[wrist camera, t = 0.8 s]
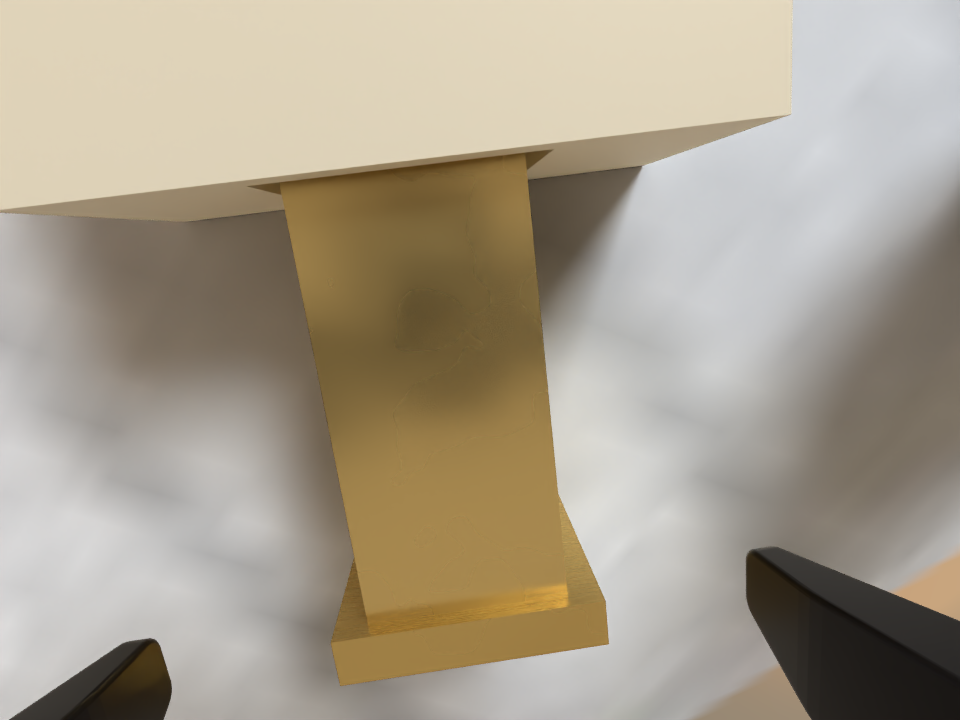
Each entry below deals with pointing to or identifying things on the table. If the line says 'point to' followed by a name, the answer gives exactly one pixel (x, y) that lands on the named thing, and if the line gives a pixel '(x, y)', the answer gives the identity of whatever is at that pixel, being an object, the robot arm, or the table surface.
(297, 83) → the block
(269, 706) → the table surface
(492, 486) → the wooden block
